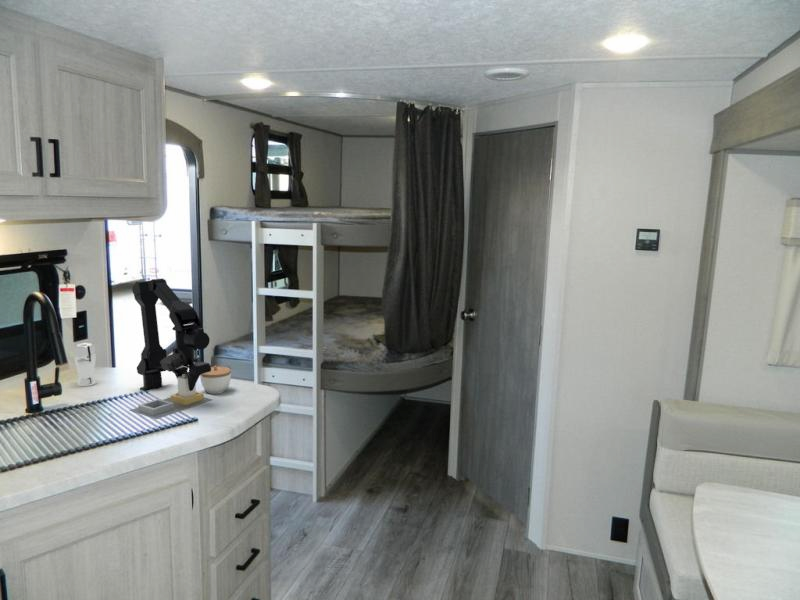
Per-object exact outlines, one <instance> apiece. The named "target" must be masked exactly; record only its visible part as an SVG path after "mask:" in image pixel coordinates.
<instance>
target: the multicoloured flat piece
mask: <svg viewBox="0 0 800 600" xmlns="http://www.w3.org/2000/svg"><path fill="white" fill-rule="evenodd" d="M211 401H213V399H212V398H209V397H205V394H204V392H199V391H197V390H196V395H193V396H190V397H187V398H184V397H181V396H178V392H177V393H173V394H170V397H167V398H164V399H162V398H158V399H154V400H151V401H146V402H144V403H141V404H140V403H139V404H138V405H137V406H138V407H135V408H131V409H129V410H128V411H129V412H132V413H136V414H139V415H142V416H145V417H149V418H151V419H155V420H158V419H161V418H164V417H167V416H170V415H174V414H175V413H179V412H182V411H184V410H185V411H186V410H188V409H190V408H194V407H196V406H200V405H203V404H206V403H207V402H211Z"/></svg>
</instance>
